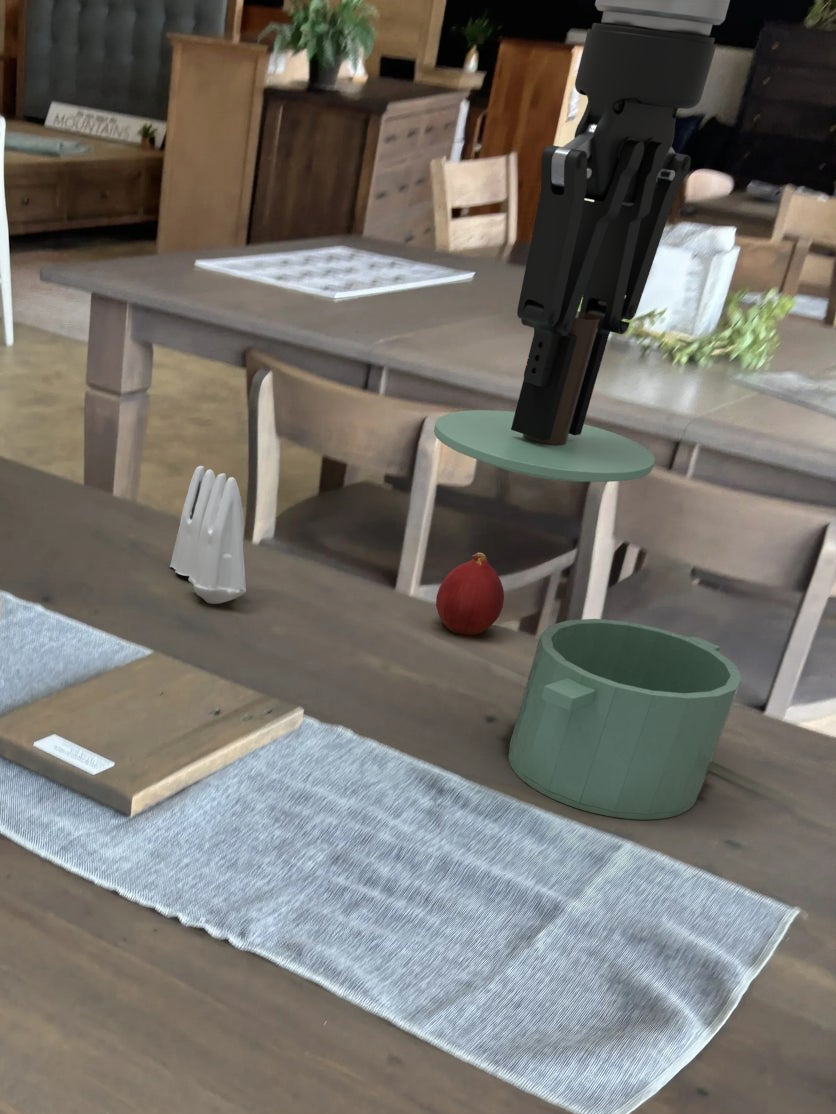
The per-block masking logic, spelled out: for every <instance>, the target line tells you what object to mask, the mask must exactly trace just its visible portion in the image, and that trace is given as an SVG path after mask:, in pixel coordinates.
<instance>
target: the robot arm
mask: <svg viewBox="0 0 836 1114" xmlns="http://www.w3.org/2000/svg"><path fill="white" fill-rule="evenodd" d="M730 1H731V0H595V3H594V6H595V7H596V9H597V11H599V12H603V13H602V17H601V21H600V23H599V22H598V23H597V22H594V23H592V26H591V28H587V33H586V36H585V41H584V45H583V48H582V52H581V57H580V61H579V65H578V69H577V73H576V76H575V81H574V88H575V90H576V92H577V93H578V94H580V95H582V96H586V97H587V103H586V106H585V109H584V112H583V115H582V116H581V118H580V121H579V122H578V124H577V126H576V128H575V132H574V136H573V139H571V140H570V141H569V142H568V143H566V144H565V145H564V146H559V145H554V144H553V145H552V144H548V145H547V146H546V147H545V148H544V150H543V151H542V155H541V159H540V194H539V199H538V203H537V208H536V213H535V218H534V224H533V230H532V234H531V239H530V244H529V248H528V254H527V260H526V264H525V269H524V273H523V274H524V275H523V279H522V285H521V290H520V293H519V294H520V295H519V299H518V304H517V311H516V314H517V318H519V319H520V320H521V321H520V322H521V325H523V326H526V327H529V328H532V329H533V336H532V340H531V344H530V348H529V352H528V355H527V360H526V365H525V368H524V372H523V379H522V384H521V388H520V392H519V396H518V400H517V404H516V408H515V411H514V412H515V415H514V419H513V423H512V427H511V430H513V431H516V432H519V433H522V434H525V435H528V436H531V437H534V438H537V439H540V440H549V439H550V437H551V433H552V429H553V425H554V422H555V418H556V414H557V411H558V407H559V403H560V400H561V396H562V392H563V389H564V385H565V381H566V377H567V374H568V370H569V366H570V363H571V359H572V355H573V352H574V348H575V344H576V340H577V337H576V336H572V335H569V334H568V333H569V332H570V331H571V328H572V326H573V323H574V320H575V317H576V314H577V311H579V312H584V313H589V314H592V315H596V316H598V317H599V318H600V323H599V327H598V330H597V334H596V338H595V341H594V345H593V348H592V352H591V356H590V359H589V363H588V366H587V370H586V374H585V377H584V381H583V384H582V388H581V392H580V395H579V399H578V403H577V406H576V410H575V413H574V417H573V421H572V424H571V428H570V431H569V434H572V435H580V434H581V432H582V428H583V425H584V424H585V421H586V417H587V413H588V410H589V407H590V403H591V400H592V396H593V392H594V389H595V385H596V381H597V378H598V374H599V373H600V368H601V366H602V365H601V364H602V361H603V357H604V355H605V350H606V346H607V343H608V339H609V335H610V333H614V334H618V335H624V334H625V333H626V332H627V330H628V329H629V326H630V322H628V321H631V320H632V319H634V317H635V316H636V314H637V311H638V309H639V307H640V306H639V305H640V303H641V300H642V297H643V293H644V290H645V287H646V284H647V282H648V279H649V276H650V273H651V270H652V267H653V264H654V261H655V257H656V255H657V252H658V249H659V245H660V243H661V241H662V236H663V234H664V231H665V228H666V226H667V225H666V224H667V222H668V219H669V216H670V214H671V209H672V207H673V204H674V202H675V198H676V195H677V194H678V192H679V190H680V188H681V186H682V185H683V182H684V180H685V178H686V176H687V174H688V172H689V170H690V168H691V163H692V159H691V156H690V155H688V154H684V153H683V154H682V153H678V152H677V153H676V151H675V149H674V148H673V146H672V145H673V143H674V140H675V139H674V138H675V127H676V118H677V113H678V110H679V109H683V110H684V109H685V110H686V109H687V110H688V109H689V110H690V109H694V108H695V107H696V106H698V105H699V104H700V101H701V100H702V97H703V94H704V90H705V87H706V83H707V80H708V76H709V72H710V70H711V67H712V62H713V59H714V56H715V52H716V49H717V44H715V40H716V38H715V37H711V36H710V35H711V32H712V28H713V26H720V25H721V24H723V22H725V20H726V17H727V12H728V9H729V5H730ZM625 320H627V321H625Z"/></svg>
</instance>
